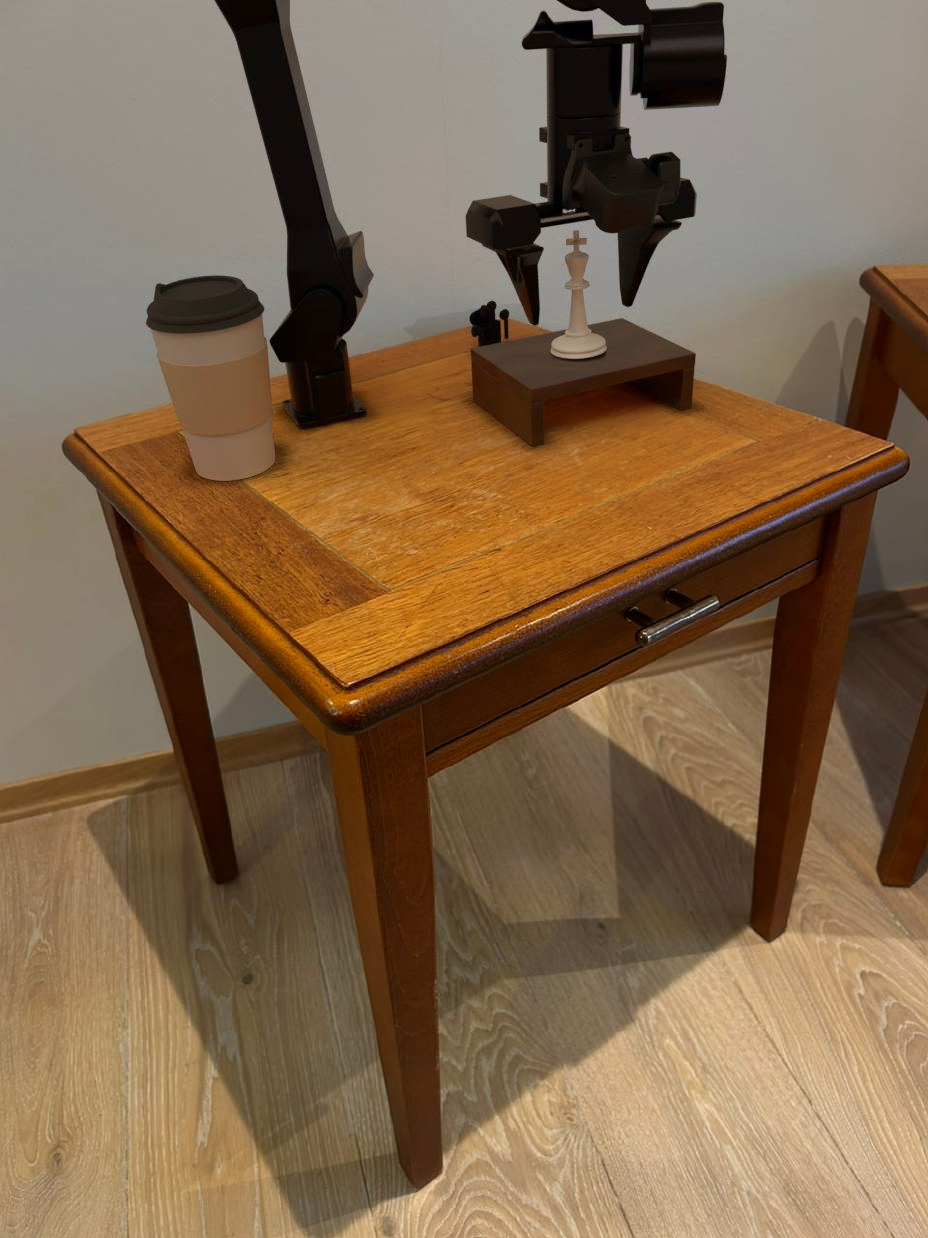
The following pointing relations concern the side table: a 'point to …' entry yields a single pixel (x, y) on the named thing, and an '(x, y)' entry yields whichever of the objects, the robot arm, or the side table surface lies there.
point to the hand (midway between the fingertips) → (581, 314)
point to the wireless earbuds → (488, 324)
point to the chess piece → (577, 310)
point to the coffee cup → (216, 372)
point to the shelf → (576, 373)
